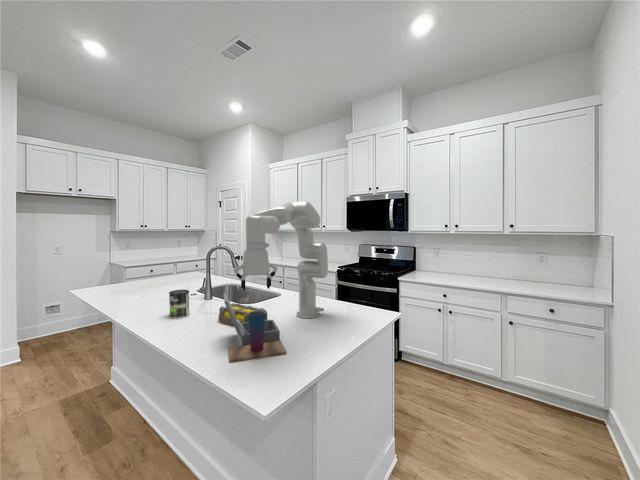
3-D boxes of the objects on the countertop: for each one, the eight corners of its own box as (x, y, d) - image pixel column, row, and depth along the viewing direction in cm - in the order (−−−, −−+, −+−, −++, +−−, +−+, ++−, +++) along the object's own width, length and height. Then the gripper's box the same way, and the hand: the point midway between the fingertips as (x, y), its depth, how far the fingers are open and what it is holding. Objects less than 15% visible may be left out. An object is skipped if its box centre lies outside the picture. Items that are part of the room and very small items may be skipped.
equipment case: (272, 329, 143) (272, 305, 142) (279, 341, 128) (279, 315, 127) (234, 334, 136) (234, 309, 136) (236, 347, 121) (236, 319, 121)
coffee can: (179, 319, 157) (178, 294, 156) (165, 317, 161) (164, 292, 160) (193, 314, 167) (193, 290, 166) (180, 312, 170) (180, 288, 170)
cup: (249, 346, 121) (249, 310, 120) (266, 345, 121) (266, 310, 120) (247, 353, 114) (246, 316, 113) (264, 352, 114) (264, 315, 114)
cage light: (233, 301, 167) (273, 308, 151) (233, 314, 167) (273, 323, 152) (212, 307, 154) (253, 316, 139) (212, 321, 155) (253, 332, 139)
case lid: (225, 292, 134) (223, 293, 134) (227, 301, 119) (224, 302, 119) (238, 322, 137) (235, 324, 137) (241, 335, 122) (238, 336, 122)
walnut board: (280, 342, 127) (280, 340, 127) (286, 354, 116) (286, 351, 115) (227, 349, 119) (227, 347, 119) (229, 362, 108) (229, 360, 108)
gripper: (275, 245, 122) (275, 285, 123) (232, 246, 116) (233, 288, 117) (279, 246, 115) (279, 289, 116) (233, 248, 109) (234, 292, 110)
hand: (256, 288), depth 116 cm, fingers open, 9 cm apart
